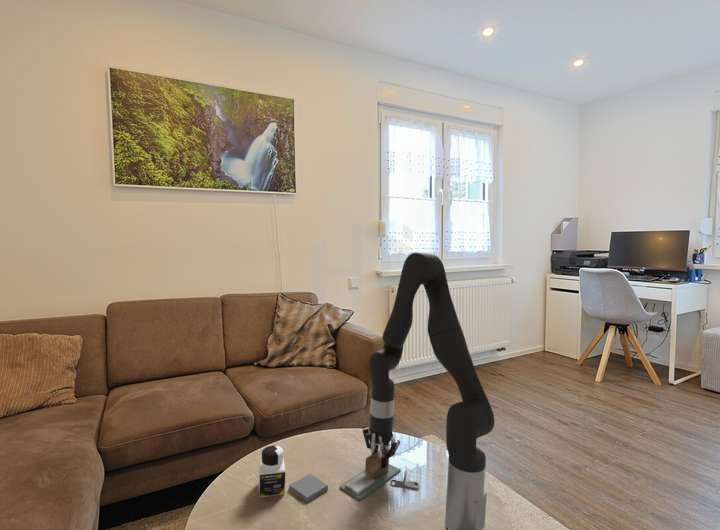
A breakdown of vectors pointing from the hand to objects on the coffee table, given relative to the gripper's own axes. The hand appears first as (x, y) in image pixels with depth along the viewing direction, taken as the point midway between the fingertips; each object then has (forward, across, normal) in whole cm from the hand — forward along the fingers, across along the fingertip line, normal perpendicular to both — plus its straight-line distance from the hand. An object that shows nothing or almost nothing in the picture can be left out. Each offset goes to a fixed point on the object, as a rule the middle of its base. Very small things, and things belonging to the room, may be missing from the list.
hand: (379, 465), depth 124 cm
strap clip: (+3, -9, -1) cm, 10 cm away
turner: (+2, 0, +5) cm, 6 cm away
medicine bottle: (+3, +18, +28) cm, 33 cm away
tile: (+2, +10, +17) cm, 20 cm away
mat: (+3, 0, +4) cm, 5 cm away
